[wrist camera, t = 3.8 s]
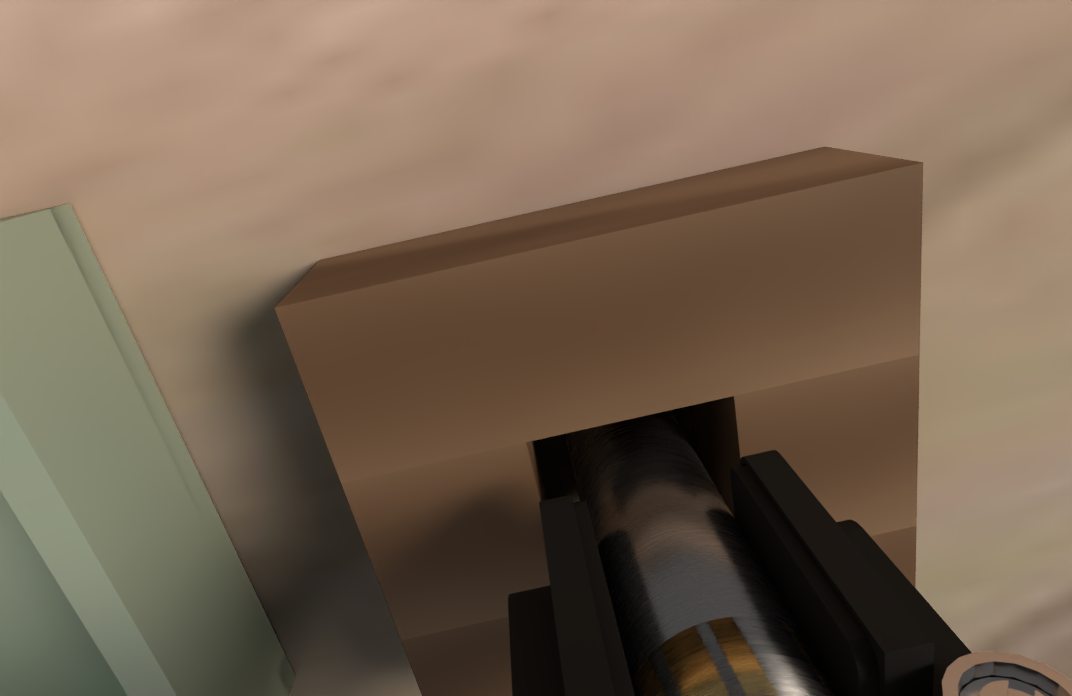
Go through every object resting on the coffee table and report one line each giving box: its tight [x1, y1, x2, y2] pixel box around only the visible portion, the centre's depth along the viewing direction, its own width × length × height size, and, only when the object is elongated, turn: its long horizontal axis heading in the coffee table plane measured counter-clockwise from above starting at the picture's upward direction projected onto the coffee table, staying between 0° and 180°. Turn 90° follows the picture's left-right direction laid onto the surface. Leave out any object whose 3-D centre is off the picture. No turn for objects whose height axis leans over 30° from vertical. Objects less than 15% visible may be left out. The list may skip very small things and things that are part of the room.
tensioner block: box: [274, 147, 923, 696], centre depth 13 cm, size 10×10×3 cm
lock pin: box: [565, 410, 839, 696], centre depth 11 cm, size 2×2×8 cm
